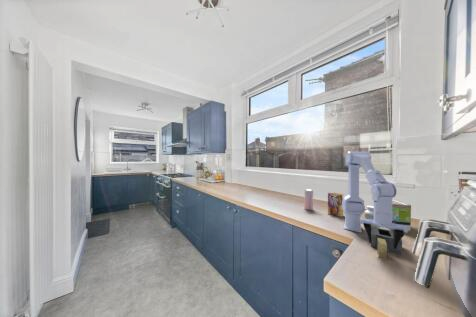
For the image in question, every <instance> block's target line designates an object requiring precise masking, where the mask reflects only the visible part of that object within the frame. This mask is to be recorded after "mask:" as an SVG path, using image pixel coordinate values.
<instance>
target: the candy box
mask: <svg viewBox="0 0 476 317" xmlns="http://www.w3.org/2000/svg"><path fill="white" fill-rule="evenodd" d="M343 198H344V193H341V192H340V193H339V192H331V191H329V192H327V214H328V215H331V216H336V217H339V218H340V217H341V218H342V217H344V211H343V209H342V201H343Z"/></svg>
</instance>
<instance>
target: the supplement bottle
mask: <svg viewBox="0 0 476 317" xmlns="http://www.w3.org/2000/svg"><path fill="white" fill-rule="evenodd" d="M366 209H367V210H366ZM366 209H365V211H364V219H372V220H374V205H366ZM371 227H376V228H381V227H377V226H372V225H371Z"/></svg>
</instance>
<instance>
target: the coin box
mask: <svg viewBox="0 0 476 317" xmlns="http://www.w3.org/2000/svg"><path fill="white" fill-rule="evenodd" d="M377 238H381V239H385V241H386V243H387V252H389V253H394V254H399V255H402V254H403V238H401V240H400V241H399V243H398V245H397V248H396V249H394V248H393V230H391V229H387V228H382V227H380V228H376V227H371V241H372V242H371V243H370V246H371V248H375V249H377Z"/></svg>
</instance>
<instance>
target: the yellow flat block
mask: <svg viewBox="0 0 476 317" xmlns="http://www.w3.org/2000/svg"><path fill="white" fill-rule="evenodd" d="M376 252H377V257H378V258H379V259H380V258H381V259H383V260H388V257H387V256H388V251H387V243H386V241H385V239H381V238H377V248H376Z"/></svg>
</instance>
